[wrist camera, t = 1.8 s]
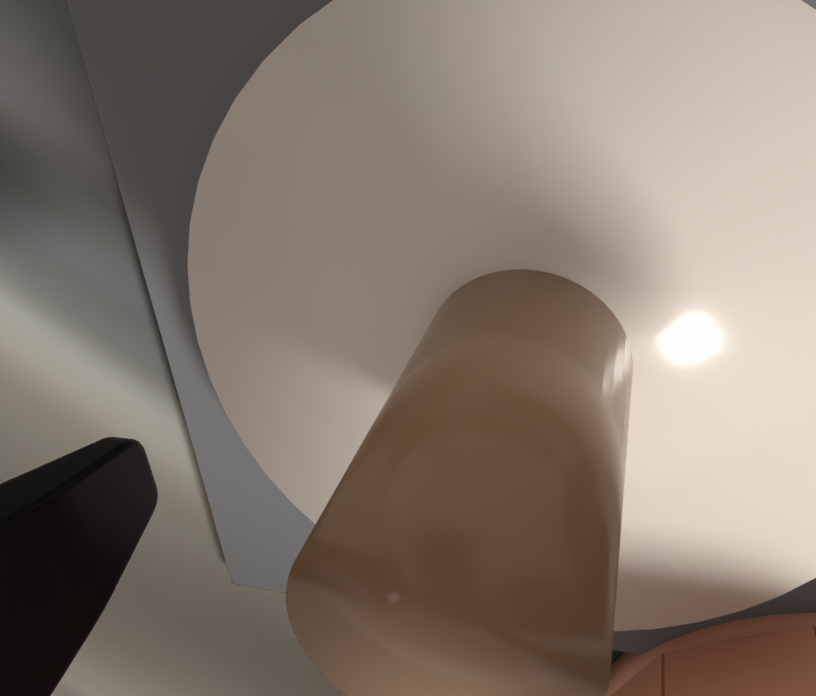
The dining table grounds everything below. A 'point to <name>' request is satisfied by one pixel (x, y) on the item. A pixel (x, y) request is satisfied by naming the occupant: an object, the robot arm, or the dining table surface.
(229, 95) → the mat
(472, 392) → the lid
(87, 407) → the dining table surface
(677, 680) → the bowl
